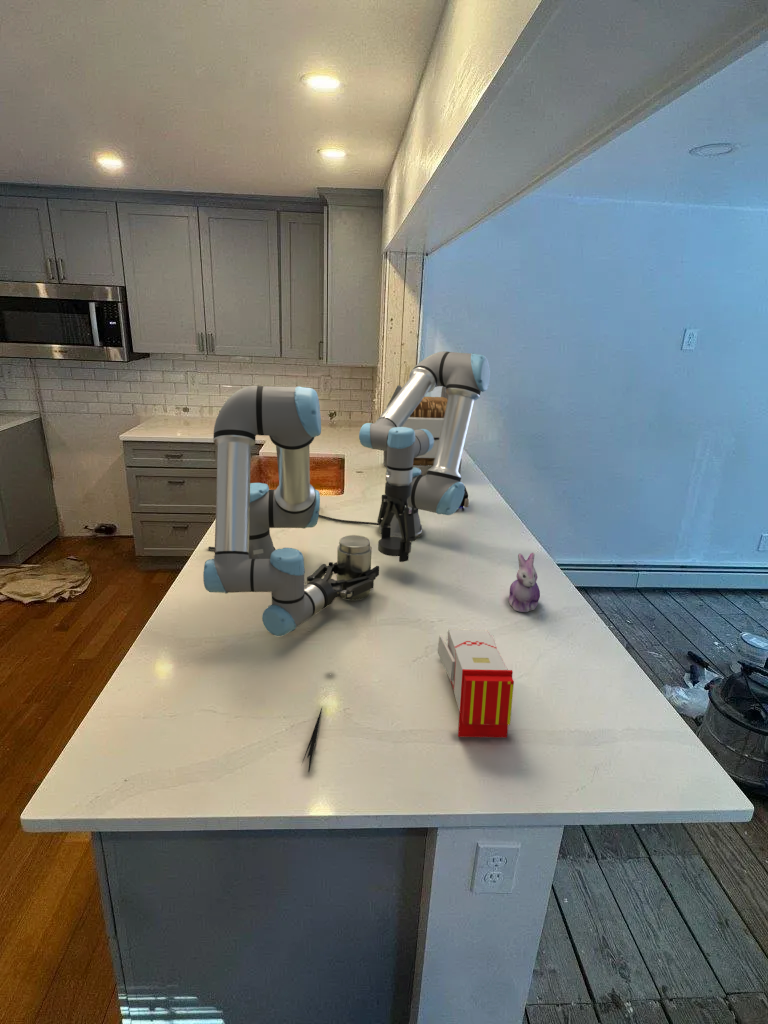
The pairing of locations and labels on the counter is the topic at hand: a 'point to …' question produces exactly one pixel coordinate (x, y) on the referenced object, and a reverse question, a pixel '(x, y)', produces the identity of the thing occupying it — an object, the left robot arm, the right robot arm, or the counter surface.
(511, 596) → the figurine
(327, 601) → the left robot arm
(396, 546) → the lid
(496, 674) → the toy
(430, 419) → the transformer
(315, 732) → the feather
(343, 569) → the jar
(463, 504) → the figurine character
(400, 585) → the counter surface
